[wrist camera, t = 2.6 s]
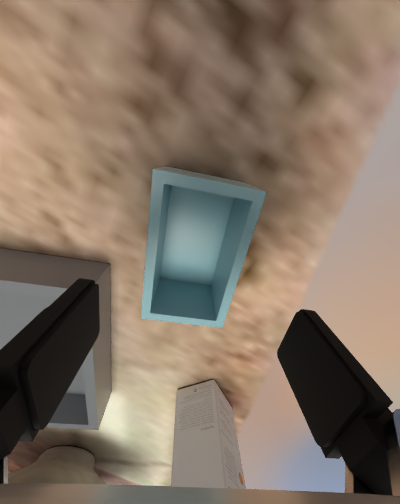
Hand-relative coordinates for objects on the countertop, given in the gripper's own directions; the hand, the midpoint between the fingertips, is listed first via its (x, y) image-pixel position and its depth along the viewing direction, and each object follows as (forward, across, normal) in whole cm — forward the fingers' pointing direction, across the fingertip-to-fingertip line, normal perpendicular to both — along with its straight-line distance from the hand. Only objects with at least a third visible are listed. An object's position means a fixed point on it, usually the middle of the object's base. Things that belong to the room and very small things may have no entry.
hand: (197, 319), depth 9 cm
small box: (+10, -6, +23) cm, 25 cm away
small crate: (+9, 0, -1) cm, 9 cm away
